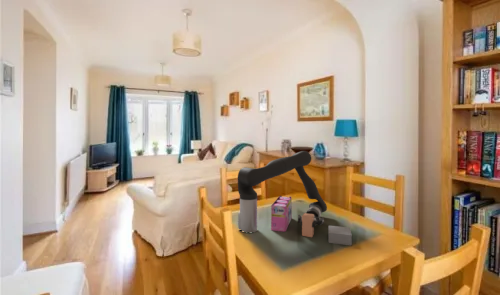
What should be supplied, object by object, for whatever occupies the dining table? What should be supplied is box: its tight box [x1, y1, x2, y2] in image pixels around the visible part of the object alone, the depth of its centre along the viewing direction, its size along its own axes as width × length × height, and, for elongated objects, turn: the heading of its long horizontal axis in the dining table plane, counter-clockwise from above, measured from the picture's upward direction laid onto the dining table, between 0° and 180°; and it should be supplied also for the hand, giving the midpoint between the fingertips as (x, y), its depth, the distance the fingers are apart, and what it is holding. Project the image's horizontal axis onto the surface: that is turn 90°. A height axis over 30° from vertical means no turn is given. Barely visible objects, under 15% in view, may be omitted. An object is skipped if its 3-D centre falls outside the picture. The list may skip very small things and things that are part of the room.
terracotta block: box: [301, 212, 315, 238], centre depth 124 cm, size 5×5×10 cm
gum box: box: [270, 195, 293, 232], centre depth 141 cm, size 24×8×14 cm, turn 162°
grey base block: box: [328, 225, 353, 246], centre depth 118 cm, size 10×10×5 cm
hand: (307, 224), depth 122 cm, fingers closed on terracotta block, 5 cm apart
